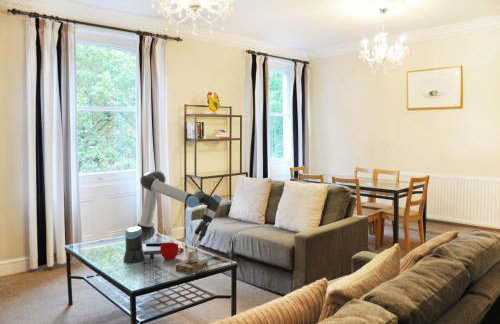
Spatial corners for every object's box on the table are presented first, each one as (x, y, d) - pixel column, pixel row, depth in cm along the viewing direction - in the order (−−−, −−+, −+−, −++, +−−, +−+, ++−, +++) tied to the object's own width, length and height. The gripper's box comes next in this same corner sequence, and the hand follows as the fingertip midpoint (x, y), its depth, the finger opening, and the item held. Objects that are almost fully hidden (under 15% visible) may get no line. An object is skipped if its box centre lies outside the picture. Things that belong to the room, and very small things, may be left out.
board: (175, 270, 285) (175, 264, 284) (189, 263, 299) (189, 257, 298) (194, 274, 278) (194, 268, 278) (207, 266, 292) (207, 260, 292)
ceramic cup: (179, 262, 300) (179, 249, 299) (157, 261, 303) (157, 247, 302) (186, 257, 312) (186, 243, 311) (164, 255, 316) (164, 242, 315)
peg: (186, 269, 287) (186, 251, 286) (191, 266, 292) (190, 249, 291) (193, 270, 285) (192, 252, 284) (197, 267, 290) (197, 250, 288)
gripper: (217, 219, 284) (203, 248, 280) (208, 217, 308) (195, 243, 303) (208, 214, 282) (193, 243, 278) (199, 212, 306) (185, 239, 301)
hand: (194, 243), depth 290 cm, fingers open, 13 cm apart
